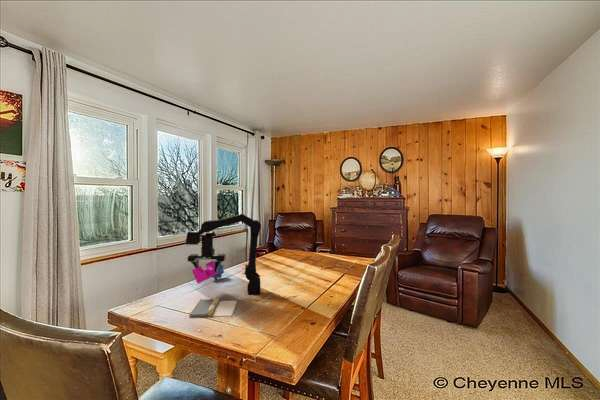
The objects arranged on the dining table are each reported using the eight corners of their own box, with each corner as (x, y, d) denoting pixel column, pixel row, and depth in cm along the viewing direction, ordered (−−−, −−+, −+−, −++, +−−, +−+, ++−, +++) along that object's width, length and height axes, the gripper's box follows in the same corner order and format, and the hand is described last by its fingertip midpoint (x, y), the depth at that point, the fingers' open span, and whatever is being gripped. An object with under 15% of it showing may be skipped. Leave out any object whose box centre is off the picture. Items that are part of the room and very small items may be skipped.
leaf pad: (237, 301, 141) (237, 300, 141) (231, 316, 124) (231, 315, 124) (219, 301, 141) (219, 301, 141) (212, 316, 123) (212, 315, 123)
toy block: (207, 278, 141) (201, 265, 141) (197, 283, 142) (191, 270, 143) (222, 271, 155) (216, 258, 156) (213, 275, 157) (207, 263, 157)
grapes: (212, 283, 170) (213, 263, 170) (205, 280, 174) (206, 261, 174) (228, 278, 180) (228, 259, 180) (221, 276, 184) (221, 258, 184)
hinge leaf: (219, 301, 141) (219, 296, 141) (211, 316, 123) (211, 311, 123) (200, 301, 140) (200, 297, 140) (189, 317, 122) (189, 311, 122)
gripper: (227, 242, 159) (227, 269, 159) (193, 242, 157) (193, 269, 157) (224, 245, 148) (223, 275, 148) (187, 245, 146) (187, 275, 146)
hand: (206, 273), depth 150 cm, fingers closed on toy block, 8 cm apart
